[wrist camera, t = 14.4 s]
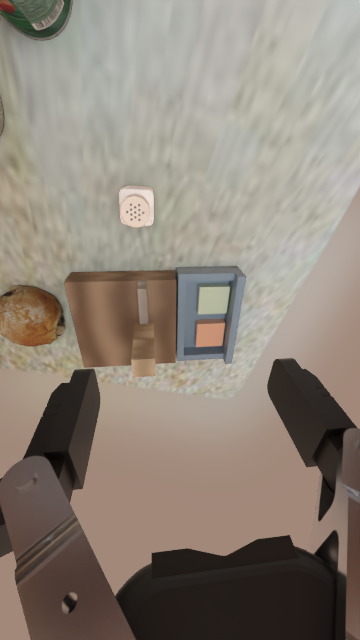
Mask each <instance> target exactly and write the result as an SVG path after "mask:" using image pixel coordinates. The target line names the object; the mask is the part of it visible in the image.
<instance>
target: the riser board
mask: <svg viewBox="0 0 360 640" xmlns="http://www.w3.org/2000/svg"><path fill="white" fill-rule="evenodd" d="M138 280H147V297H148V315H149V324H152V323H154V340H155V364H159V363H175V353H176V276H175V272H174V271H121V272H71V274H70V275H69V276H68V278H67V279H66V280H65V282H64V285H65V289H66V293H67V298H68V302H69V306H70V310H71V314H72V318H73V322H74V327H75V331H76V335H77V339H78V343H79V347H80V351H81V355H82V360H83V364H84V368H86V367H105V366H123V365H132V363H131V356H132V346H133V336H134V325H135V324H140V316H139V303H138V291H137V288H138Z"/></svg>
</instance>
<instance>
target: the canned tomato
mask: <svg viewBox="0 0 360 640" xmlns="http://www.w3.org/2000/svg"><path fill="white" fill-rule="evenodd" d="M71 8H72V0H0V14H1V15H2V16H3V17H4V18H5V19H6V20H7V21H8V22H9V23H10V25H12V26H13V27H14V28H15V29H16V30H17V31H19V32H20V33H22V34H24V35H25V36H27V37H30V38H33V39H35V40H47V39H52V38H53V37H55V36H57V35H58V34H59V33H60V32H61V31H62V30H63V29H64V27H65V26H66V24H67V23H68V20H69V17H70V14H71Z"/></svg>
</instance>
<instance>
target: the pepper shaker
mask: <svg viewBox="0 0 360 640" xmlns="http://www.w3.org/2000/svg"><path fill="white" fill-rule="evenodd" d="M119 210H120V220H121V222H122V223H123V224H125V225H128V226H131V227H134V228H138V227H143V226H150V225H152V224H153V221H154V194H153V190H152V188H150V187H147V186H130V185H127V186H124V187H123V188H122V189H120V191H119Z"/></svg>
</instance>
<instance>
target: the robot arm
mask: <svg viewBox="0 0 360 640" xmlns="http://www.w3.org/2000/svg"><path fill="white" fill-rule="evenodd" d="M3 124H4V113H3V107H2V102H1V99H0V135H1V133H2V129H3ZM267 386H268V394H269V396H270V398H271V400H272V402H273V404H274V406H275V408H276V410H277V412H278V414H279V416H280V418H281V419H282V421H283V423H284V425H285V427H286V429H287V431H288V433H289V435H290V436H291V438H292V440H293V442H294V444H295V446H296V448H297V450H298V452H299V454H300V456H301V458H302V460H303V461H304V463H305V465H306V467H313V466H318V468H319V469H320V471H321V473H320V476H319V481H318V490H317V498H316V507H315V515H314V523H313V528H312V531H311V534H310V537H309V540H308V544H307V549H306V550H304V549H301V548H298V547H295V546H294V545H293V543H292V540H291V538H290V535H288V536H280V537H272V538H265V539H257V540H255V541H253V542H252V543H250V544H248V545H246V546H244V547H242V548H240V549H238V550H237V551H235V552H233V553H231V554H229V555H227V556H220V555H215V554H210V553H206V552H201V551H196V550H192V549H179V550H172V551H164V552H156V553H152V563H151V564H149V565H147V566H145V567H143V568H142V569H140V570H139V571H138V572H136V573H135V574H134V575H133V576H132V577H131V578H130V579H129V580H128V581H127V582H126V583H125V584H124V585H123V587H121V589H120V590H119V591H118V593H117V594H116V596H115V595H114V593H113V592H112V589H111V587H110V585H109V583H108V581H107V579H106V577H105V575H104V573H103V571H102V569H101V566H100V564H99V562H98V560H97V558H96V556H95V554H94V552H93V550H92V548H91V546H90V544H89V542H88V540H87V537H86V535H85V533H84V531H83V529H82V527H81V525H80V523H79V521H78V519H77V517H76V515H75V513H74V511H73V509H72V507H71V505H70V500H71V496H72V491H73V490H76V489H82V488H83V485H84V480H85V475H86V470H87V466H88V460H89V456H90V451H91V446H92V442H93V437H94V432H95V427H96V423H97V418H98V413H99V408H100V392H99V388H98V383H97V378H96V374H95V370H94V369H80V370H75V371H74V372H73V375H72V377H71V380H70V383H61V384H60V385H59V386H58V387H57V389H55V391H54V392H53V393H52V394H51V396H50V399H49V401H48V404H47V407H46V408H45V410H44V413H43V417H41V419H40V422H39V424H38V426H37V429H36V431H35V433H34V436H33V438H32V440H31V442H30V445H29V447H28V449H27V452H26V454H25V456H24V458H23V459H22V460H21V461H19V462H18V463H16V464H15V465H14V466H12V467H11V468H10V469H9V470H8V471H7V472H6V474H5V475H4V476H3V478H1V479H0V557H2V556H4V555H6V554H8V553H10V552H12V551H13V552H14V555H15V559H16V564H17V568H16V569H15V580H16V585H17V590H18V593H19V597H20V601H21V605H22V608H23V612H24V616H25V620H26V623H27V628H28V631H29V635H30V639H31V640H360V429H359V428H357V427H356V426H355V424H354V423H353V422H352V421H351V420H350V418H349V417H348V416H347V414H346V413H345V412H344V411H343V409H342V408H341V407H340V406H339V405H338V403H337V402H336V401H335V400H334V398H333V397H332V396H330V393H329V392H328V391H327V389H326V388H324V386H323V384H322V383H321V382H320V381H319V380H318V378H317V377H316V376H315V375H313V374H312V373H310V372H309V371H308V370H306V369H302V368H301V367H300V366H299V365H298V363H297V362H296V361H295V360H294V359H293V358H289V359H276V360H275V361H274V363H273V366H272V370H271V373H270V377H269V381H268V385H267Z"/></svg>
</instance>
